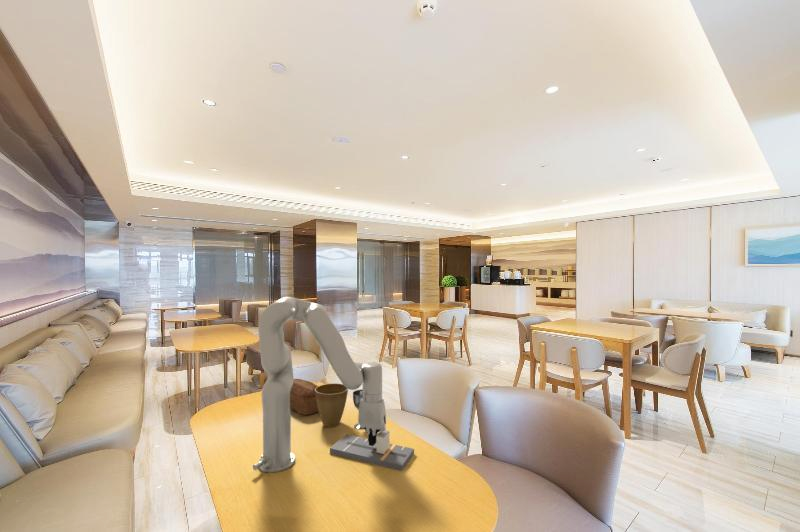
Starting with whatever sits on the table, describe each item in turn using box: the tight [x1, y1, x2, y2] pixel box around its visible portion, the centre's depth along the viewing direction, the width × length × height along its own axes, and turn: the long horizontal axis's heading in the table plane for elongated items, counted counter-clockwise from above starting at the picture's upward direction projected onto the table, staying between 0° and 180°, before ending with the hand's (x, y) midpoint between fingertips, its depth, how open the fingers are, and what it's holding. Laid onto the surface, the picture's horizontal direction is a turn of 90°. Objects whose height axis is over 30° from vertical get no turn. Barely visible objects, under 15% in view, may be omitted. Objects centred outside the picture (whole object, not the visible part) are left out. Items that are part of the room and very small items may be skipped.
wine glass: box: [352, 388, 365, 431], centre depth 157 cm, size 8×8×15 cm
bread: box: [290, 378, 319, 416], centre depth 179 cm, size 14×28×12 cm, turn 45°
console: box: [329, 434, 415, 472], centre depth 134 cm, size 12×30×2 cm, turn 67°
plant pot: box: [315, 383, 349, 428], centre depth 160 cm, size 15×15×16 cm
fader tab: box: [376, 429, 390, 454], centre depth 132 cm, size 5×3×6 cm, turn 157°
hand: (372, 444), depth 134 cm, fingers closed
